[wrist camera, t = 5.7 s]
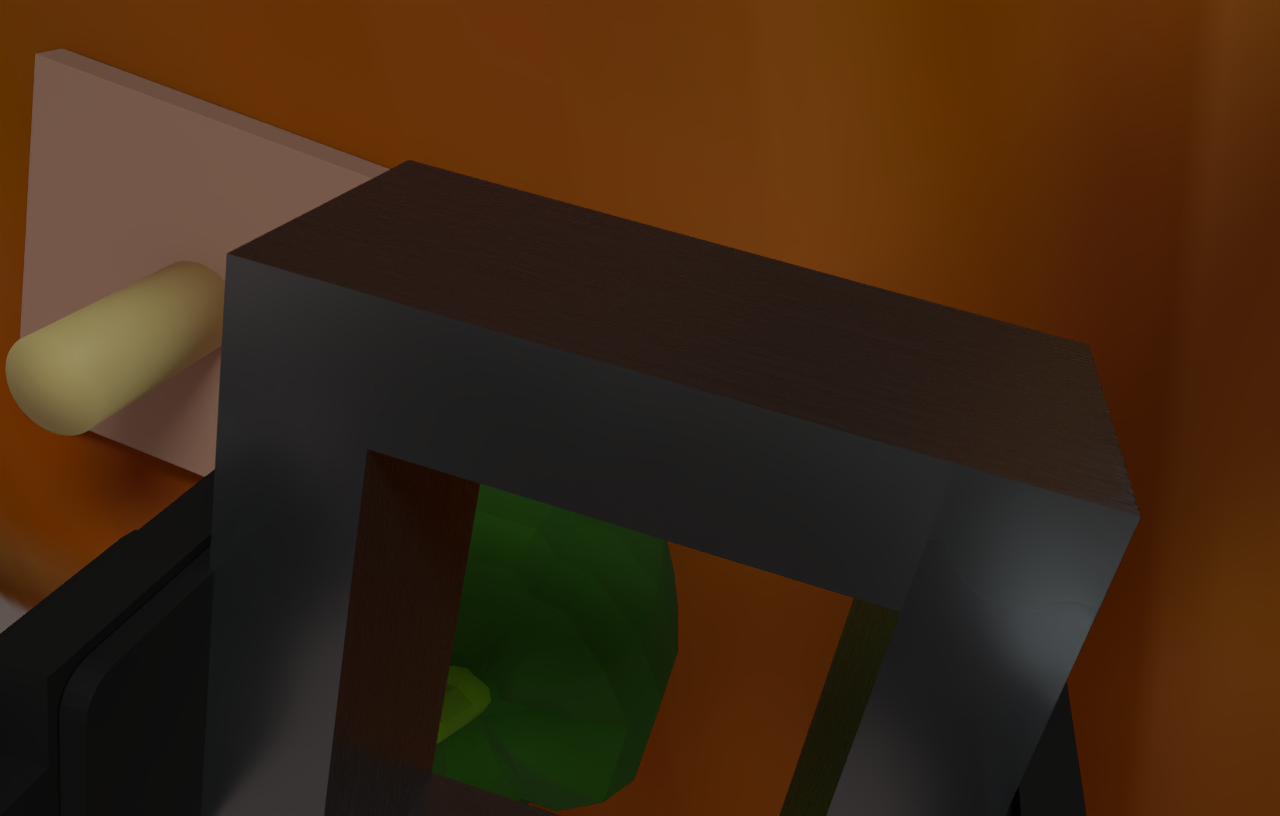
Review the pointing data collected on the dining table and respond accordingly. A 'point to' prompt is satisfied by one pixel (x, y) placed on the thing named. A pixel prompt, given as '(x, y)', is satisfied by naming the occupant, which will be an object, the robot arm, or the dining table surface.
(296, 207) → the keeper
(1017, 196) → the dining table surface
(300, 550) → the dark grey rectangular frame
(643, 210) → the dining table surface
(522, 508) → the bell pepper
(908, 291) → the dining table surface
